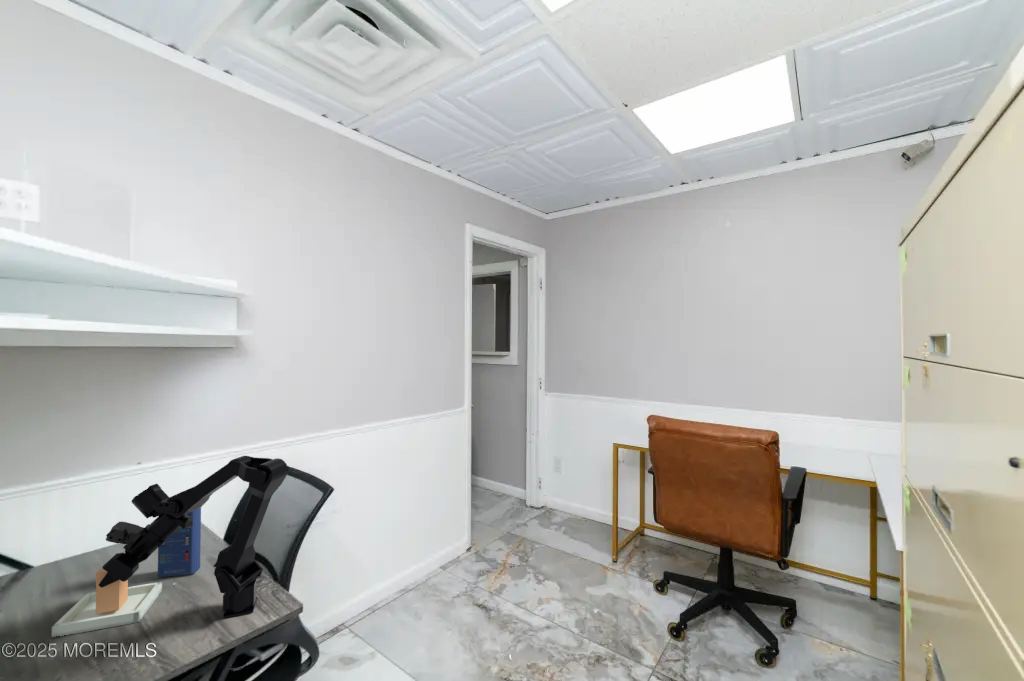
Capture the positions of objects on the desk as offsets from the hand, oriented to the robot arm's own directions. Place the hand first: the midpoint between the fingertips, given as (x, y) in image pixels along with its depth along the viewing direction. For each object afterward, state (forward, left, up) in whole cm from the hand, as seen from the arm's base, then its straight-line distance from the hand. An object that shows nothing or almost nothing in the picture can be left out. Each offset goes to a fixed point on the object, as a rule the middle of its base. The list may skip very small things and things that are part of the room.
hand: (105, 581), depth 107 cm
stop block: (-1, 0, -7) cm, 7 cm away
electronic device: (-10, -17, -8) cm, 21 cm away
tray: (-1, 0, -8) cm, 8 cm away
